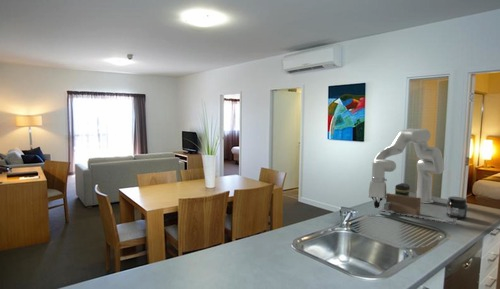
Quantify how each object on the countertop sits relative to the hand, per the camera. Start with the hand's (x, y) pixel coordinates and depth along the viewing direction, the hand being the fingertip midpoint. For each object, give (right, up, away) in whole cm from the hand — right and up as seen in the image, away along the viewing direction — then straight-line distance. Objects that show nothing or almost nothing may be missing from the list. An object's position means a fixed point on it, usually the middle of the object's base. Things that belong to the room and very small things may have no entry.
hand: (376, 207), depth 200 cm
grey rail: (+21, -4, -7) cm, 23 cm away
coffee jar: (+18, -4, +4) cm, 19 cm away
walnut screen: (+13, -3, -6) cm, 15 cm away
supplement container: (+47, -5, -7) cm, 48 cm away
